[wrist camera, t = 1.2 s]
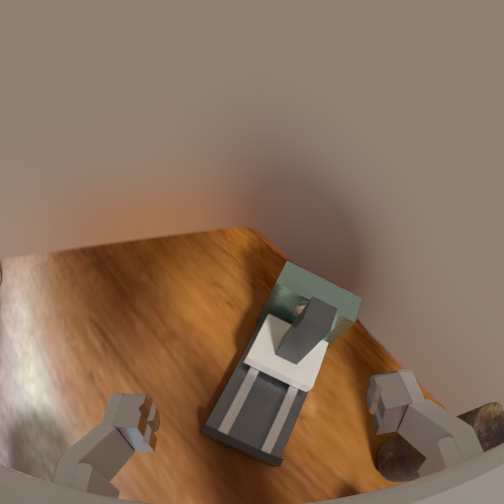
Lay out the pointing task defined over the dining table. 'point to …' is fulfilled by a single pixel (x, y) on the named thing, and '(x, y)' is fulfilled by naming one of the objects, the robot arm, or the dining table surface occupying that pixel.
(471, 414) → the dark brown cylinder
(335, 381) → the dining table surface
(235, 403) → the rail track
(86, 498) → the robot arm
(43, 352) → the dining table surface
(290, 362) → the carriage
